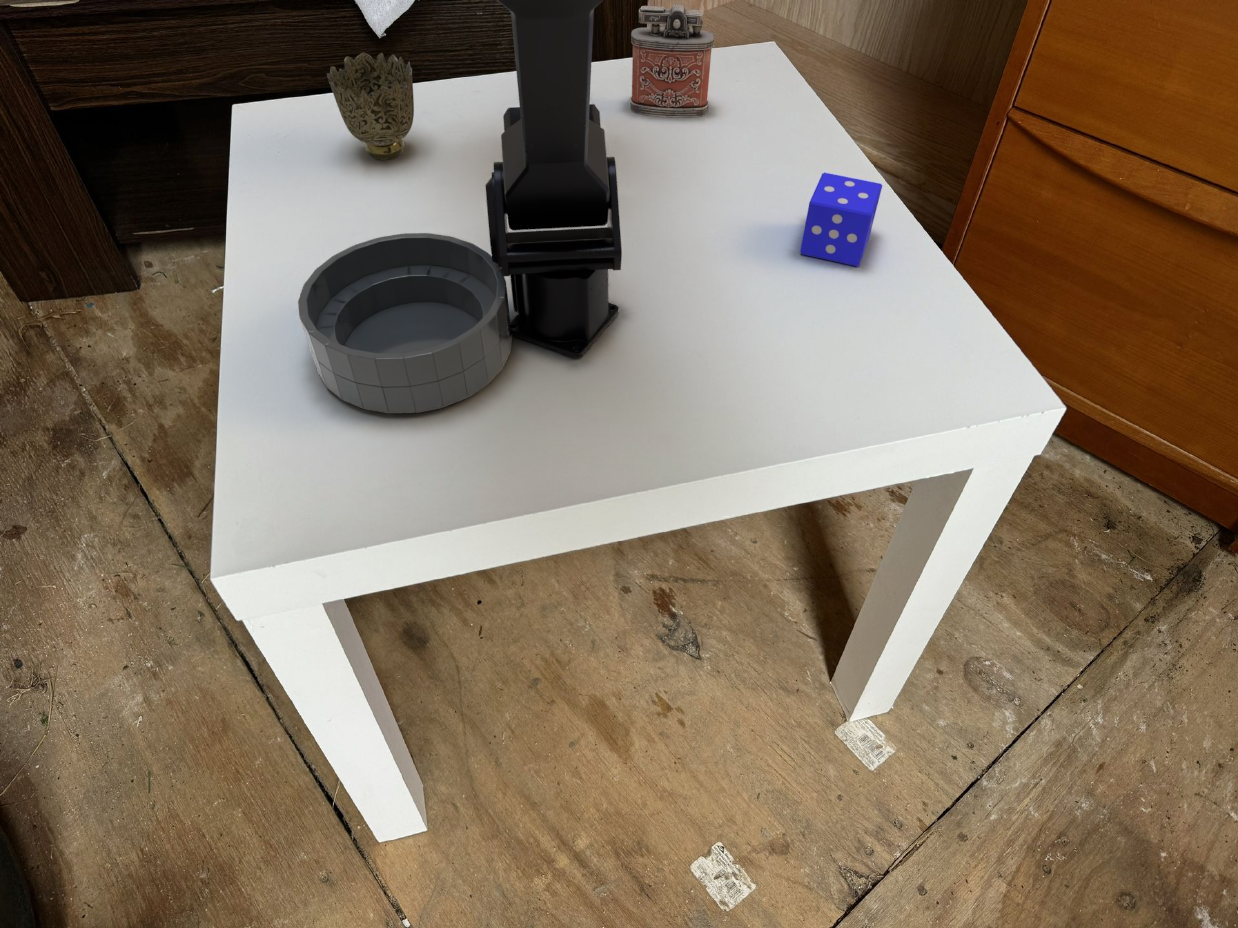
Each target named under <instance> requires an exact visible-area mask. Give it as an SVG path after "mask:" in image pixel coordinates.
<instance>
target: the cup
mask: <svg viewBox="0 0 1238 928" xmlns="http://www.w3.org/2000/svg"><path fill="white" fill-rule="evenodd" d="M329 71H330V72H327V73H326V77H327V81H328V83H329V86H330V88H331V91H332V94H333V98H334V100H335V102H336V105H337V108H338V110H339V113H340V116H341V118H342V120H343V123H344V125H345V127H346V128H347V130H348V131H349V133H350V134H351V135H352V136H353V137H354V138H355V139H356V140H357V141H358V142H361V143H363V144H364V148H365V151H366V152H367V153H368V155H369V156H370V157H372V158H374V159H377V160H390V159H391V160H392V159H393V158H396V157H398V156H400V155H401V154H402V153H403V152H404V148H405V140H404V138H406V136H407V135H408V134H409V133H410V131H411V129H412V127H413V123H414V117H415V116H414V115H415V102H414V101H415V100H414V98H415V97H414V84H413V67H412V66H411V63H410V61H408V62H407V64H406V63H405V61H404V59H403V57H402V56H399V58H397V57H396V55H395V54H391V55H390V56H389V57H388V59H387V60H386V59H385V56H384V54H383V52H380V53H379V54H378V55H377V56H376V58H372V56H371V55H370V54H368V53H366V52H364V51H363V52H361V53H359V54H358V55H357V56H356V57H355V59H353V58H352V57H351V56H347V55H346V56H345V58H344V59H343V69H341V68H339V70H337V68H336V67H335V66H333V65H332V66H330V68H329Z"/></svg>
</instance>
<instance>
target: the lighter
mask: <svg viewBox="0 0 1238 928" xmlns="http://www.w3.org/2000/svg"><path fill="white" fill-rule="evenodd" d="M638 23H640V24H647V25H649V24H650V25H651V27H649V26H647V27H637V28H634V29H632V30H631V32H630V43H631V44H632V63H631V64H632V67H631V68H632V69H631V71H632V73H631V96H630V98H629V109H630V111H631V112H632V113H634V114H638V115H645V116H650V117H651V116H652V117H661V118H663V117H664V118H699V117H704V116H706V115H707V114H708V113H709V105H710V103H709V100H708V94H709V84H710V83H709V82H710V72H711V62H712V61H711V60H712V50H713V49H712V48H713V47H714V45H715V34H714V33H713V32H711V31H708V30H703V24H704V11H703V10H699V9H698V10H697V9H686V8H685V5H683V4H681V3H675V4H673V5H672V6H671V7H670V8H665V6H655V5H653V6H652V5H642V6H641V7H640V8H639V9H638ZM661 25H665V26H661ZM690 27H691V28H690Z"/></svg>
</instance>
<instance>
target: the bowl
mask: <svg viewBox="0 0 1238 928" xmlns="http://www.w3.org/2000/svg"><path fill="white" fill-rule="evenodd" d="M297 307H298V316H299V320H300V323H301V326H302V329H303V333H304V335H305V339H306V342H307V344H308V348H309V350H310V353H311V356H312V359H313V362H314V365H315V368H316V370H317V373H318V375H319V377H320V378H321V380H322V382H323V383H324V386H325V388H327V389H328V390H330V392H332V393H333V394H334V395H336V396H337V397H338V398H339V399H340V400H342V401H343V402H346V403H348V404H351V405H353V406H355V407H358V408H359V409H364V410H367V411H373V412H378V413H384V414H415V413H416V414H420V413H425V412H429V411H434V410H439V409H443V408H446V407H448V406H451V405H453V404H457V403H458V402H460V401H463V400H465V399H467V398H470V397H472V396H473V395H475V394H476V393H479V391H481V390H482V389H484V388H485V387H487V386H488V385H489V384H491V382H492V381H493V380H494V379H495V378H496V377H497V376H498V375H499V374H500V372H501V371H502V369H503V368H504V366H505V364H506V363H507V360H508V358H509V356H510V354H511V351H512V340H513V335H512V333H511V323H510V322H511V316H510V305H509V297H508V288H507V281H506V278H505V276H502V270H501V268H499V267H498V264H497V263H495V262H493V261H492V254H491V253H489V252H487V251H486V250H484V249H483V248H481V247H479V246H477V245H476V244H475V243H472V242H469V241H467V240H464V239H460V238H458V237H455V236H451V235H445V234H438V233H430V232H409V233H408V232H407V233H406V232H404V233H398V234H390V235H385V236H379V237H374V238H372V239H369V240H366V241H363V242H359V243H356V244H354V245H351V246H349V247H347V248H345V249H343V250H341V251H339V252H337V253H336V254H333V255H332V256H331V257H329V258H328V259H327V260H325V261H324V262H323V263H322V264H320V265H319V266H318V267H316V269H314V271H313V272H312V273H311V274H310V276H308V279H307V280H306V281H305V282H304V283H303V286H302V289H301V292H300V294H299V297H298V301H297Z"/></svg>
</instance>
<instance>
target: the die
mask: <svg viewBox="0 0 1238 928" xmlns="http://www.w3.org/2000/svg"><path fill="white" fill-rule="evenodd" d="M816 184H817V185H816V187H815V189H814V191H813V194H812V196H811V198H810V200H809V202H808V208H807V212H806V218H805V224H804V229H803V235H802V239H801V245H800V251H799V253H800V254H801V255H803V256H808V257H812V258H817V259H822V260H826V261H831V262H835V263H839V264H844V265H848V266H853V267H859V266H860V265H861V262H862V259H863V256H864V254H865V251H866V248H867V244H868V242H869V239H870V237H871V233H872V229H873V224H874V220H875V217H876V211H877V209H878V205H879V201H880V197H881V192H882V189H883V183H880V182H875V181H869V180H864V179H860V178H855V177H848V176H844V175H839V174H834V173H830V172H829V173H828V172H822V174H821V176H820V178H819V180H818V182H817V183H816Z"/></svg>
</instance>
